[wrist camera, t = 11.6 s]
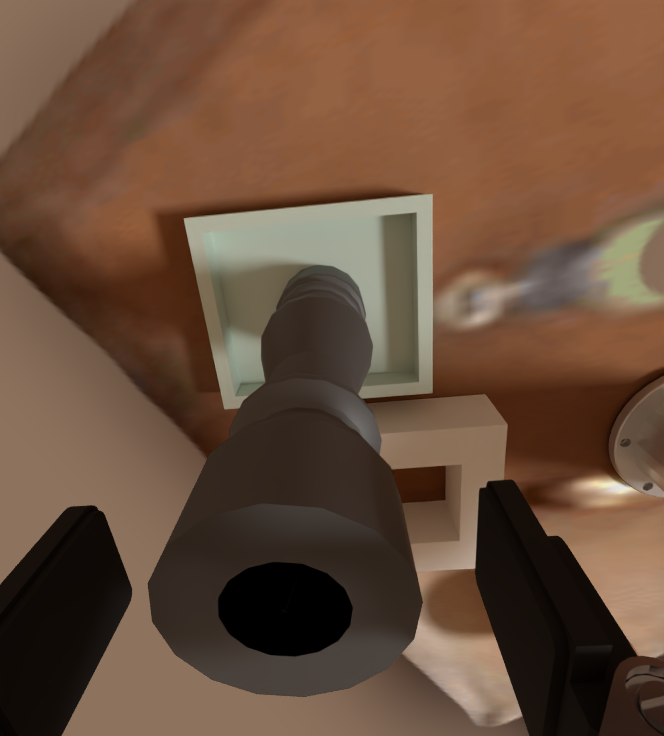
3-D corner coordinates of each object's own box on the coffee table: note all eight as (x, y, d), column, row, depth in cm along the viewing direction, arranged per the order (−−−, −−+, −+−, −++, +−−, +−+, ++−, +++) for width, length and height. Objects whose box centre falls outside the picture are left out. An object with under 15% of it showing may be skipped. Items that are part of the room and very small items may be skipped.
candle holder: (314, 246, 30) (244, 430, 7) (380, 300, 32) (499, 597, 9) (264, 312, 32) (82, 626, 9) (328, 360, 34) (312, 735, 10)
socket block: (485, 394, 35) (507, 424, 31) (478, 524, 41) (496, 567, 36) (318, 406, 36) (316, 438, 31) (333, 533, 41) (333, 576, 37)
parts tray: (423, 193, 30) (432, 194, 27) (425, 377, 35) (432, 393, 32) (197, 215, 30) (183, 218, 27) (233, 392, 36) (224, 409, 33)
